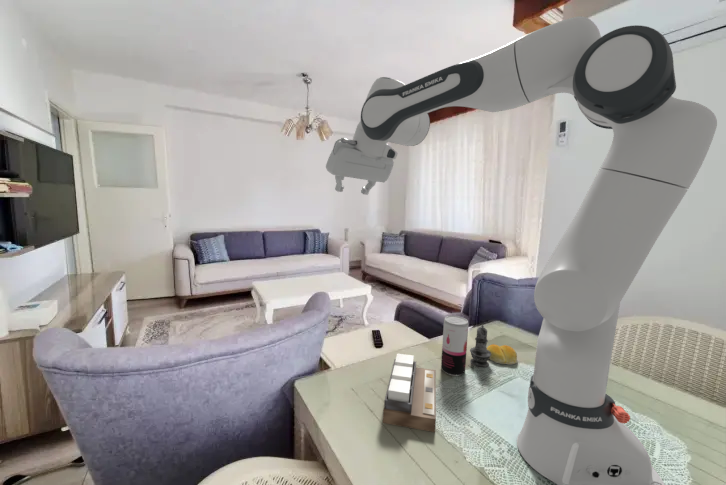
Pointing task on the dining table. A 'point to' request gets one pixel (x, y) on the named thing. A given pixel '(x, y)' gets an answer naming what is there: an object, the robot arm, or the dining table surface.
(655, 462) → the dining table surface
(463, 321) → the beverage can
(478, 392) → the dining table surface
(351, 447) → the dining table surface
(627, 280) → the robot arm
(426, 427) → the button board
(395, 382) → the button near
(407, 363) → the button far
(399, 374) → the button middle
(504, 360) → the bread roll
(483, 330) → the grey tiered upright piece
